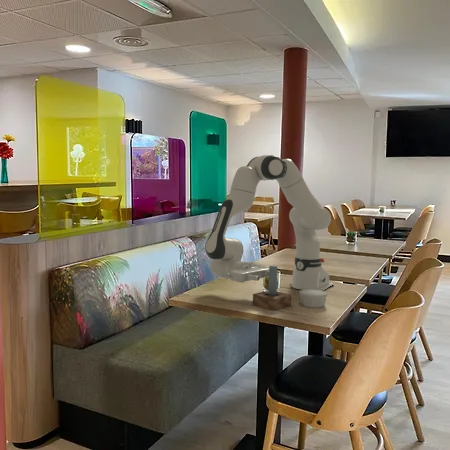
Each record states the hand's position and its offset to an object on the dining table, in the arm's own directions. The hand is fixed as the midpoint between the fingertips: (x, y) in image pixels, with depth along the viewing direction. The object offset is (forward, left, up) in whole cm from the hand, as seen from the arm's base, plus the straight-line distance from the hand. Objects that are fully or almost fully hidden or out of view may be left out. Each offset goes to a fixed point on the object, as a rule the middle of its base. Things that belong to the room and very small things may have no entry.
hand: (265, 277), depth 188 cm
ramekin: (-14, +14, -11) cm, 23 cm away
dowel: (0, +4, -11) cm, 12 cm away
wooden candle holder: (0, +4, -11) cm, 12 cm away
